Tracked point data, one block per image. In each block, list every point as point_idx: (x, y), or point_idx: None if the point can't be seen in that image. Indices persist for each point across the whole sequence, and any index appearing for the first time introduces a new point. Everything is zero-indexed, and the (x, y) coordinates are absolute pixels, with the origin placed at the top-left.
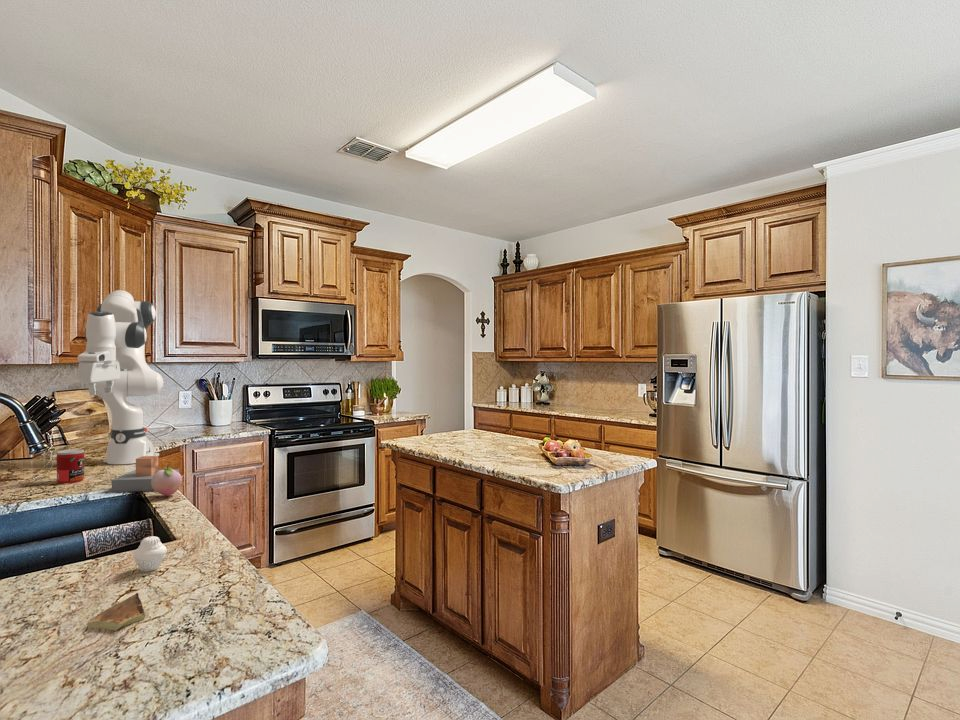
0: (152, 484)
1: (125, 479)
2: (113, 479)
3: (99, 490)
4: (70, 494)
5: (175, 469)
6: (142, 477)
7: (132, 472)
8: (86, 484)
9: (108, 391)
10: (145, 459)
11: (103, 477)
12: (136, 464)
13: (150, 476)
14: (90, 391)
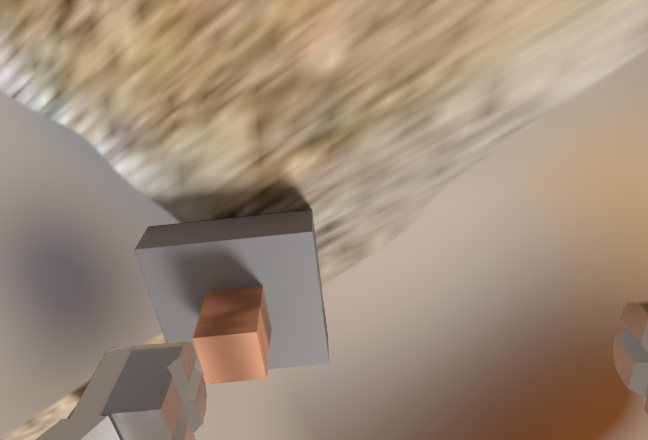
0: (70, 413)
1: (149, 289)
2: (143, 250)
3: (162, 171)
4: (88, 104)
5: (324, 354)
6: (188, 323)
7: (268, 246)
8: (252, 49)
9: (629, 367)
10: (202, 364)
11: (391, 32)
12: (198, 323)
13: None
14: (89, 409)
